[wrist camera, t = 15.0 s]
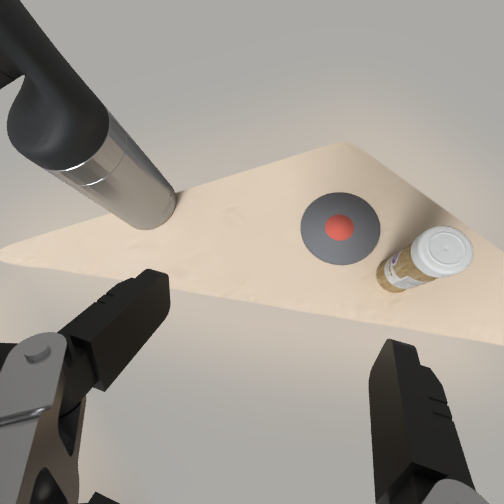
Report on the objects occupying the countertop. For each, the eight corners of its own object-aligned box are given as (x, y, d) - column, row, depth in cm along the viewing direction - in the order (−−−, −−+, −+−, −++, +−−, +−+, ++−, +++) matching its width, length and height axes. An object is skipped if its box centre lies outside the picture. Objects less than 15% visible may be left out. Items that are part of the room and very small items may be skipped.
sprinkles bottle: (378, 256, 38) (422, 219, 25) (413, 264, 37) (478, 229, 25) (372, 289, 37) (415, 266, 24) (408, 297, 36) (473, 279, 23)
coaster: (292, 254, 40) (292, 253, 40) (310, 186, 42) (310, 186, 42) (371, 273, 38) (372, 273, 38) (386, 201, 40) (386, 200, 40)
